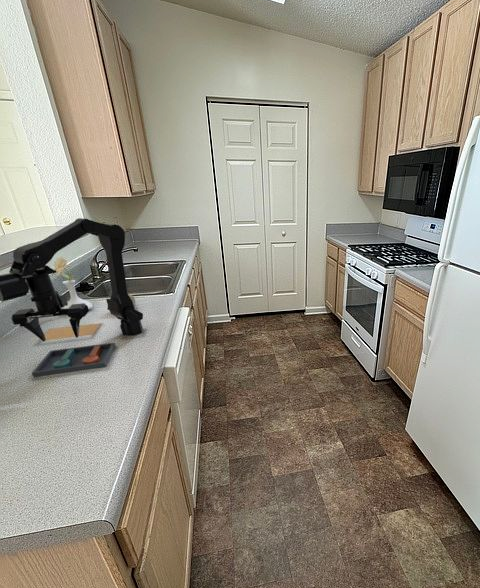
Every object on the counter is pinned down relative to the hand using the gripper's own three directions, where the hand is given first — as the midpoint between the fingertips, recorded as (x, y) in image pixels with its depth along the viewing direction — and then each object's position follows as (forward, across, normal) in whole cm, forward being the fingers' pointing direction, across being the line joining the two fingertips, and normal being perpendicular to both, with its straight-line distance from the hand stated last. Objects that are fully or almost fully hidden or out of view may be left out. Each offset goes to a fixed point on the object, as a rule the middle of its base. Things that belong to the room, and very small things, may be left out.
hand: (61, 338), depth 104 cm
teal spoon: (+7, 0, +2) cm, 8 cm away
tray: (+8, -3, +2) cm, 9 cm away
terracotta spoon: (+7, -8, +2) cm, 11 cm away
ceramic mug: (+8, -9, -46) cm, 48 cm away
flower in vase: (+8, +11, -50) cm, 52 cm away
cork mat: (+8, +7, -24) cm, 27 cm away
